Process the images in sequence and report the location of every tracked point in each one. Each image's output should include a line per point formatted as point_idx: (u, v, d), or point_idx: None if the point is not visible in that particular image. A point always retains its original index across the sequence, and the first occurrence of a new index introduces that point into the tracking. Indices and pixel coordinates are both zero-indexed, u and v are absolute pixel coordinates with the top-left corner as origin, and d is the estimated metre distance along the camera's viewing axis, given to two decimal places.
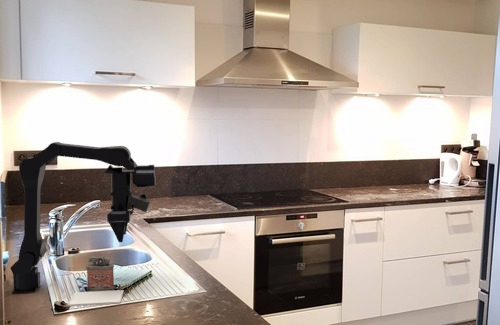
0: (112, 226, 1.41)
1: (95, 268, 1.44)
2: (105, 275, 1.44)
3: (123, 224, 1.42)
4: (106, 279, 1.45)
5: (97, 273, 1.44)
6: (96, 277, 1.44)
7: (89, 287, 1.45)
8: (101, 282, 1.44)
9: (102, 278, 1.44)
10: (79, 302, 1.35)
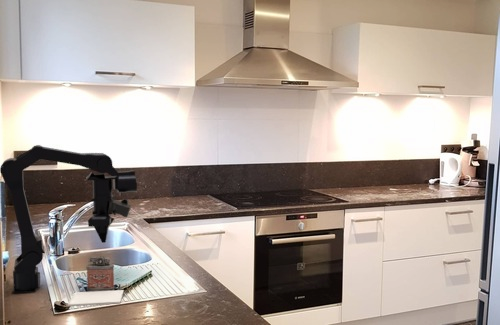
0: (95, 227, 1.51)
1: (95, 268, 1.44)
2: (105, 275, 1.44)
3: (106, 225, 1.51)
4: (106, 279, 1.45)
5: (97, 273, 1.44)
6: (96, 277, 1.44)
7: (89, 287, 1.45)
8: (101, 282, 1.44)
9: (102, 278, 1.44)
10: (79, 302, 1.35)
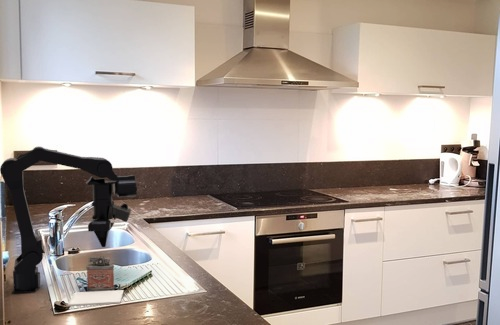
0: (95, 232, 1.51)
1: (95, 268, 1.44)
2: (105, 275, 1.44)
3: None
4: (106, 279, 1.45)
5: (97, 273, 1.44)
6: (96, 277, 1.44)
7: (89, 287, 1.45)
8: (101, 282, 1.44)
9: (102, 278, 1.44)
10: (79, 302, 1.35)
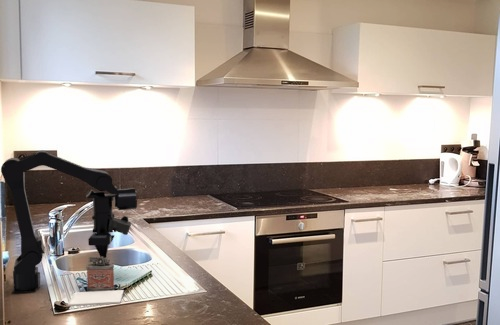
0: (96, 245, 1.51)
1: (95, 268, 1.44)
2: (105, 275, 1.44)
3: None
4: (106, 279, 1.45)
5: (97, 273, 1.44)
6: (96, 277, 1.44)
7: (89, 287, 1.45)
8: (101, 282, 1.44)
9: (102, 278, 1.44)
10: (79, 302, 1.35)
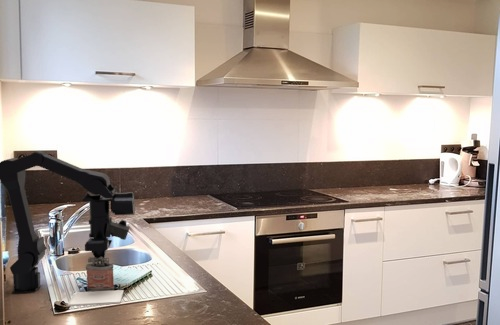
0: (92, 251, 1.45)
1: (95, 269, 1.43)
2: (105, 275, 1.44)
3: None
4: (106, 279, 1.44)
5: (97, 274, 1.44)
6: (96, 277, 1.44)
7: (89, 287, 1.45)
8: (101, 282, 1.44)
9: (102, 278, 1.44)
10: (79, 302, 1.35)
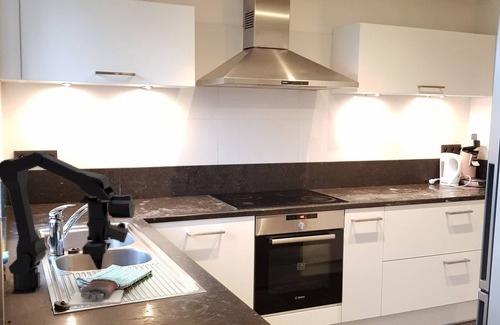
0: (90, 254, 1.42)
1: None
2: None
3: None
4: None
5: None
6: None
7: None
8: None
9: None
10: (79, 302, 1.35)
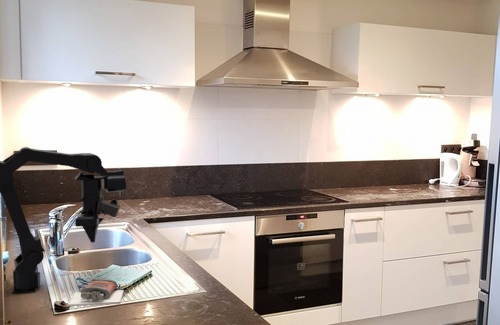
0: (84, 227, 1.51)
1: None
2: None
3: (94, 225, 1.51)
4: None
5: None
6: None
7: None
8: None
9: None
10: (79, 302, 1.35)
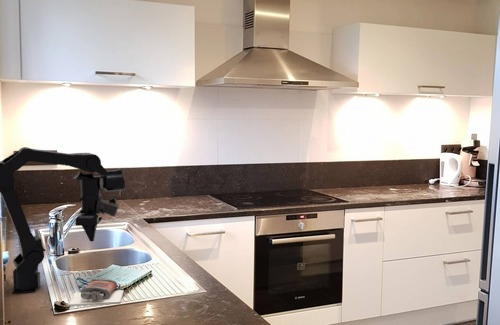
0: (83, 226, 1.52)
1: None
2: None
3: (94, 224, 1.53)
4: None
5: None
6: None
7: None
8: None
9: None
10: (79, 302, 1.35)
